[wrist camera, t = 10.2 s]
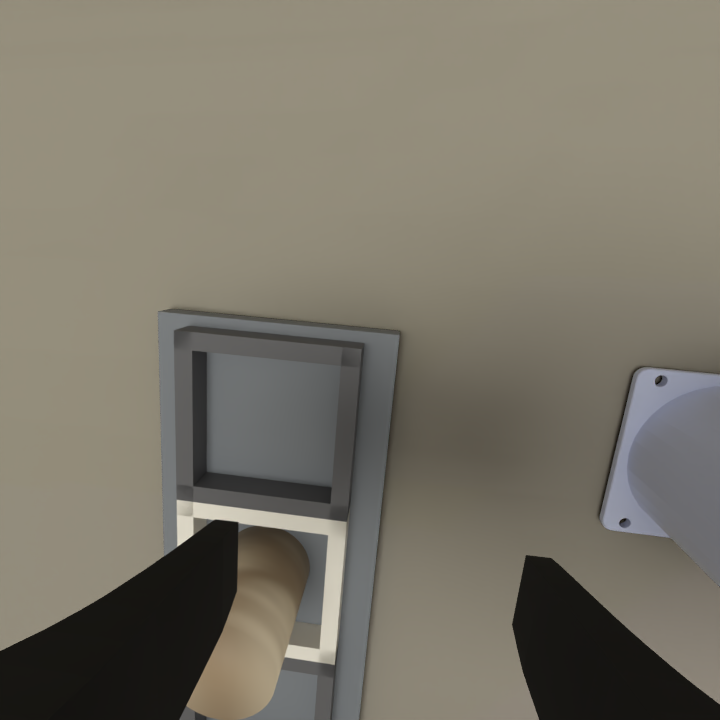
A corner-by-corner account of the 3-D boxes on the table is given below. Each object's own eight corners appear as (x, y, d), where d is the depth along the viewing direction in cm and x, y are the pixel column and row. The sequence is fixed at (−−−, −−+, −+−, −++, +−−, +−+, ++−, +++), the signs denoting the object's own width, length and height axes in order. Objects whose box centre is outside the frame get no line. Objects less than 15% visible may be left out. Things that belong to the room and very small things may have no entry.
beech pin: (312, 531, 21) (278, 634, 15) (306, 606, 22) (273, 728, 16) (226, 519, 21) (161, 615, 15) (224, 593, 22) (162, 709, 16)
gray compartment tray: (399, 330, 20) (399, 340, 17) (355, 743, 25) (351, 796, 23) (171, 308, 20) (139, 315, 18) (179, 713, 26) (155, 762, 24)
